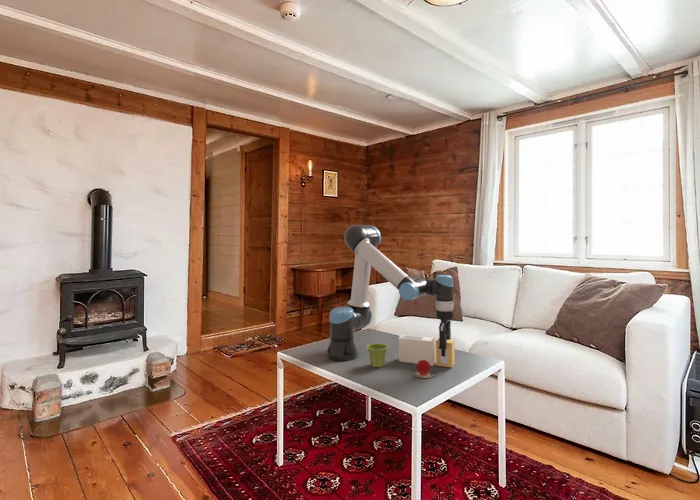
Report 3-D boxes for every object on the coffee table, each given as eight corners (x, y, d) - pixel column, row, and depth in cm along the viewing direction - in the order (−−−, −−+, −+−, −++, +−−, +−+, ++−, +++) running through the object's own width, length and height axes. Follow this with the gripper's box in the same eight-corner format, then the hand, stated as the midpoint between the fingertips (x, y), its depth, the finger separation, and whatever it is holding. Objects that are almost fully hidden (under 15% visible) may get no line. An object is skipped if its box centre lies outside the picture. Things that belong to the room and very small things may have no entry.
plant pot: (374, 370, 163) (373, 350, 163) (363, 364, 172) (363, 345, 171) (392, 366, 168) (391, 347, 167) (381, 360, 176) (380, 342, 176)
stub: (436, 365, 167) (435, 341, 167) (439, 361, 172) (438, 337, 172) (452, 367, 164) (451, 342, 164) (454, 363, 169) (454, 339, 169)
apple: (421, 380, 151) (420, 364, 151) (410, 373, 159) (410, 358, 159) (437, 376, 155) (437, 361, 154) (426, 370, 162) (425, 355, 162)
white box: (398, 361, 175) (398, 337, 174) (402, 357, 180) (402, 334, 180) (433, 365, 168) (432, 341, 167) (436, 361, 173) (435, 337, 173)
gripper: (449, 314, 157) (449, 368, 158) (457, 306, 174) (457, 355, 175) (431, 313, 160) (432, 366, 161) (440, 305, 177) (441, 353, 178)
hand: (445, 360), depth 168 cm, fingers closed on stub, 6 cm apart
